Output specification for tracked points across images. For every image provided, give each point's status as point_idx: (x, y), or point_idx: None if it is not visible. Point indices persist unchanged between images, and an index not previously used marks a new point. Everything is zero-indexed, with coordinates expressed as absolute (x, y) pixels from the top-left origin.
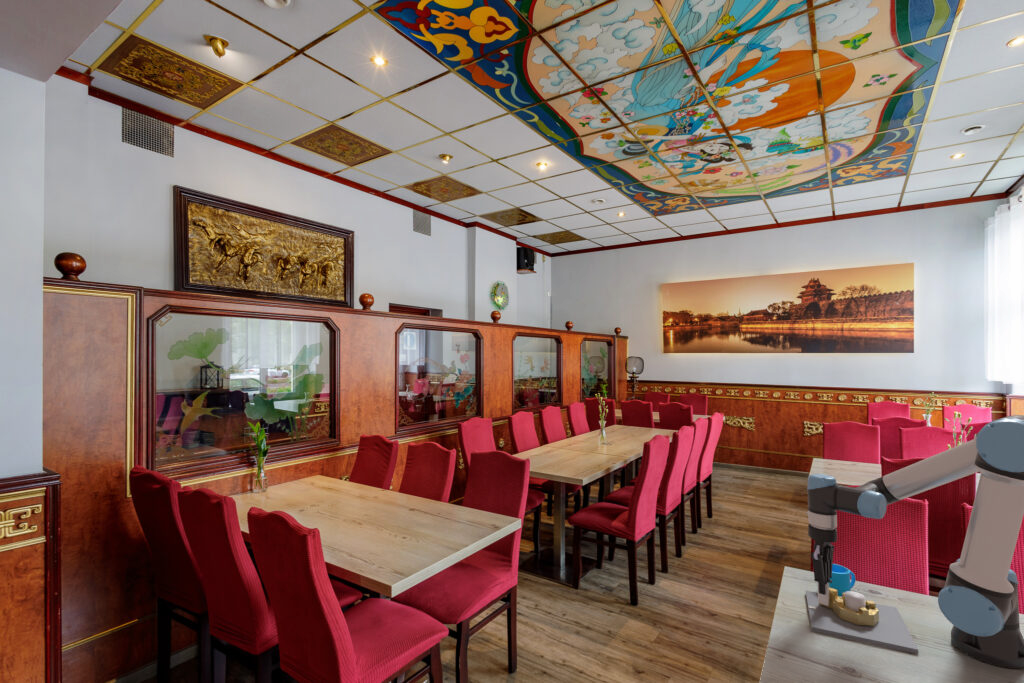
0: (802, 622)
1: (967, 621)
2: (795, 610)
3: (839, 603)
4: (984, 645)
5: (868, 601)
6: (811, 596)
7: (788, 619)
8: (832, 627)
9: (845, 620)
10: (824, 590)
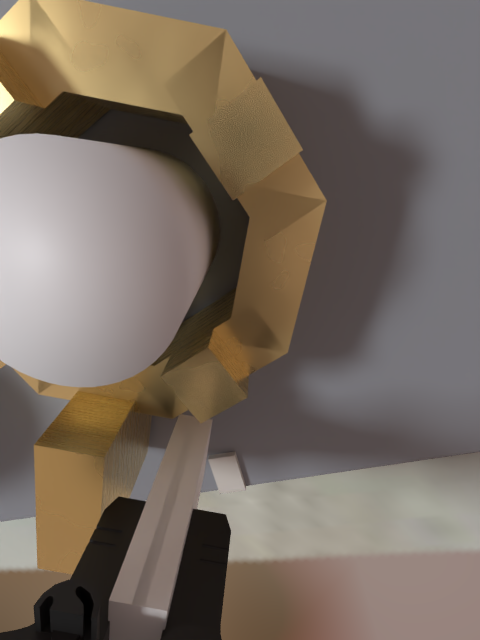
0: (406, 476)
1: None
2: (273, 517)
3: (239, 376)
4: None
5: None
6: None
7: (412, 530)
8: (453, 345)
9: None
10: (213, 554)
